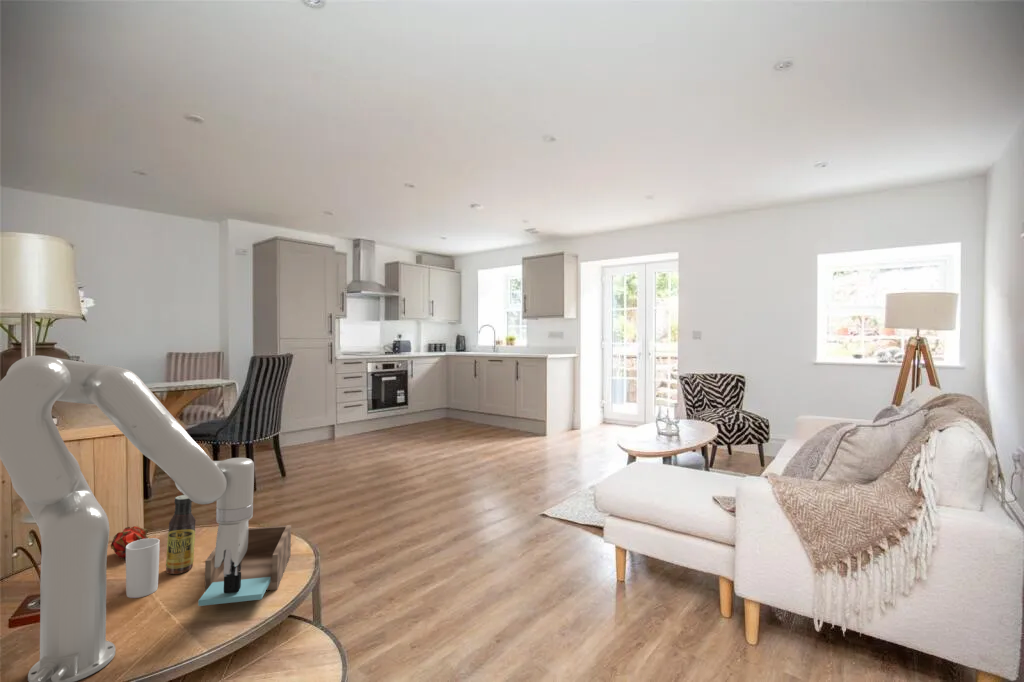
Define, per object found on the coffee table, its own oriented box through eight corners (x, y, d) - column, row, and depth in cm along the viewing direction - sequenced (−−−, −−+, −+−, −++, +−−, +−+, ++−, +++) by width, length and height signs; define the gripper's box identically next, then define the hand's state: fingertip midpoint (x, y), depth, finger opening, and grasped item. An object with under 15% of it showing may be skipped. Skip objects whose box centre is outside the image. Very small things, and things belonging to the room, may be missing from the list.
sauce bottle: (163, 577, 131) (164, 502, 130) (168, 567, 136) (169, 494, 136) (192, 573, 133) (193, 499, 133) (196, 563, 139) (197, 492, 139)
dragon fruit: (136, 551, 149) (130, 573, 139) (106, 540, 145) (98, 562, 135) (156, 526, 151) (152, 547, 141) (128, 514, 147) (122, 535, 136)
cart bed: (277, 590, 125) (277, 554, 125) (204, 597, 121) (205, 560, 121) (290, 555, 145) (291, 524, 145) (228, 561, 140) (229, 529, 140)
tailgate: (270, 585, 125) (261, 603, 115) (212, 591, 122) (197, 610, 112) (270, 576, 125) (261, 593, 115) (212, 582, 122) (198, 600, 112)
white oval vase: (155, 595, 121) (155, 547, 121) (121, 601, 119) (121, 551, 119) (164, 577, 131) (165, 531, 131) (133, 581, 128) (134, 535, 128)
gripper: (226, 502, 122) (223, 577, 122) (206, 525, 108) (203, 609, 108) (259, 501, 124) (257, 574, 124) (244, 522, 110) (241, 605, 110)
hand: (232, 590), depth 116 cm, fingers closed
